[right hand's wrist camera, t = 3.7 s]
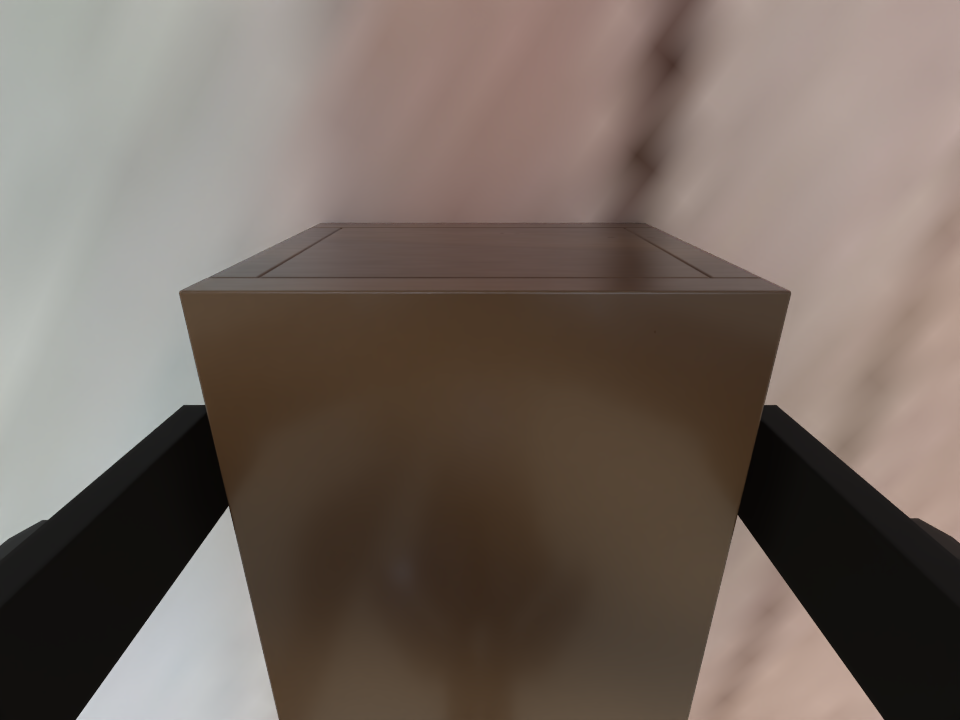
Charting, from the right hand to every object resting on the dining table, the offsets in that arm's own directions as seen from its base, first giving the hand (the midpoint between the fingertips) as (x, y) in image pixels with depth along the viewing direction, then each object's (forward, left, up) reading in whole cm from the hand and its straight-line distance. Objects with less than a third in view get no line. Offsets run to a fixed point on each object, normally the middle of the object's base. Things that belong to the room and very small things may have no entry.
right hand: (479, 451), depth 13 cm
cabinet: (+3, +2, -6) cm, 7 cm away
